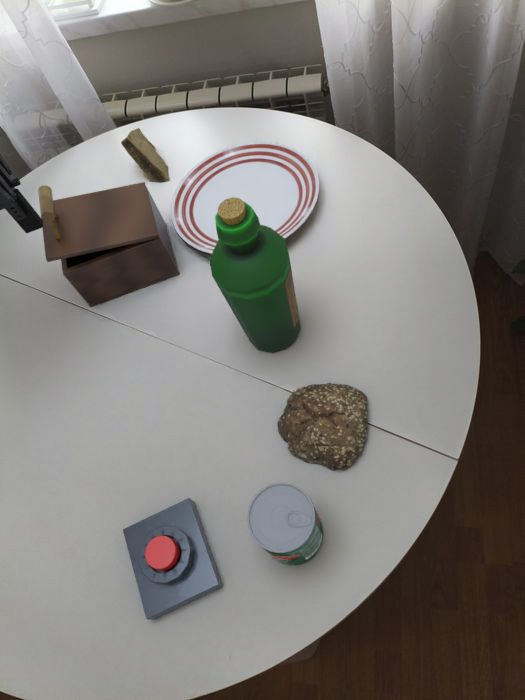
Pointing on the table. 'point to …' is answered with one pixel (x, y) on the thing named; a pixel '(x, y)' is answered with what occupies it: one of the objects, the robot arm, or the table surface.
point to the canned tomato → (286, 524)
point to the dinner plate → (246, 190)
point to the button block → (191, 568)
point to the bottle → (255, 276)
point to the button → (162, 553)
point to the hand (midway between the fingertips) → (34, 226)
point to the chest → (123, 266)
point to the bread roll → (325, 424)
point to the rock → (145, 156)
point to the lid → (95, 220)
